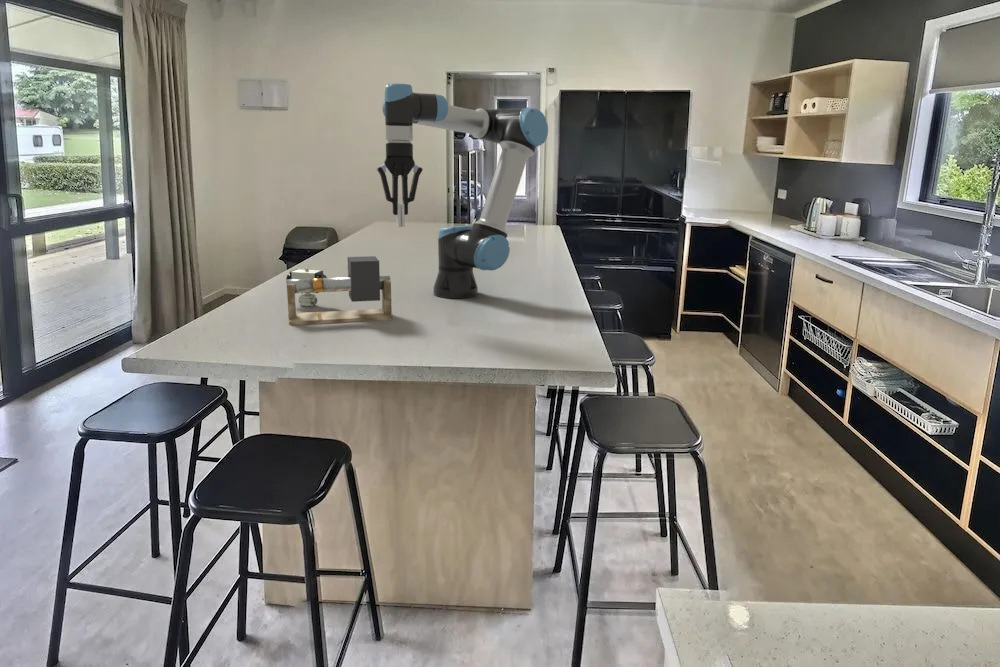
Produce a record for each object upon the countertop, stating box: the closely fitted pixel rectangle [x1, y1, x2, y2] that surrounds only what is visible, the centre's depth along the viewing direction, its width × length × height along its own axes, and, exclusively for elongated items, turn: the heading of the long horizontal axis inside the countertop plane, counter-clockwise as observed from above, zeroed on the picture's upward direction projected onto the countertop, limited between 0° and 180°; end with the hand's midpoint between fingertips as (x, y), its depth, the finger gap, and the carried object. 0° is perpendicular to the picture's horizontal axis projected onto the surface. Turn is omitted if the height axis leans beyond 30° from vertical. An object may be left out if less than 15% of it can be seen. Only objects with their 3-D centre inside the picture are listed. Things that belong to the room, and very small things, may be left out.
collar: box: [347, 255, 381, 303], centre depth 207 cm, size 8×9×12 cm
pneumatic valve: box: [285, 267, 328, 308], centre depth 222 cm, size 6×12×12 cm, turn 78°
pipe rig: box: [285, 279, 394, 326], centre depth 207 cm, size 29×10×11 cm, turn 107°
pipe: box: [285, 275, 391, 294], centre depth 205 cm, size 29×4×4 cm, turn 107°
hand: (400, 226), depth 206 cm, fingers closed
